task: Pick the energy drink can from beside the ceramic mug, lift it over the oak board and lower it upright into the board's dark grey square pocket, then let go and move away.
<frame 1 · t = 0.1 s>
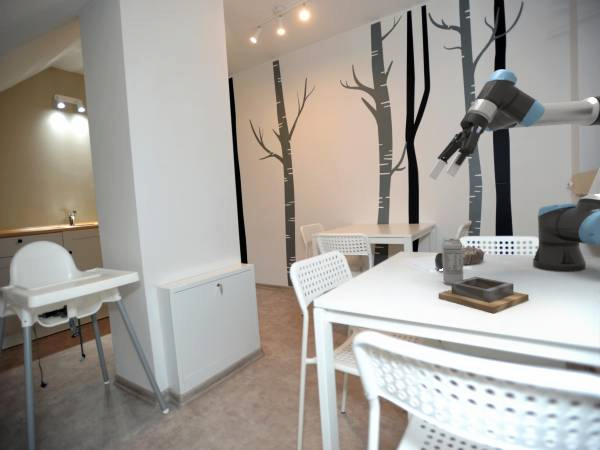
hand: (440, 176, 104), 36 cm above the table, tool tilted 35°, fingers open, 13 cm apart
seashell: (467, 263, 137), on the table
energy drink can: (453, 284, 108), on the table
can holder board: (482, 299, 91), on the table
ceramic mug: (447, 271, 126), on the table
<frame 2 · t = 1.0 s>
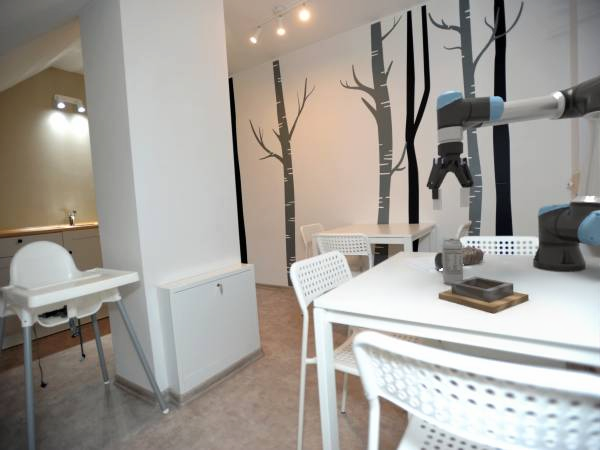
hand: (451, 208, 106), 25 cm above the table, tool pointing down, fingers open, 13 cm apart
nothing on the table moved.
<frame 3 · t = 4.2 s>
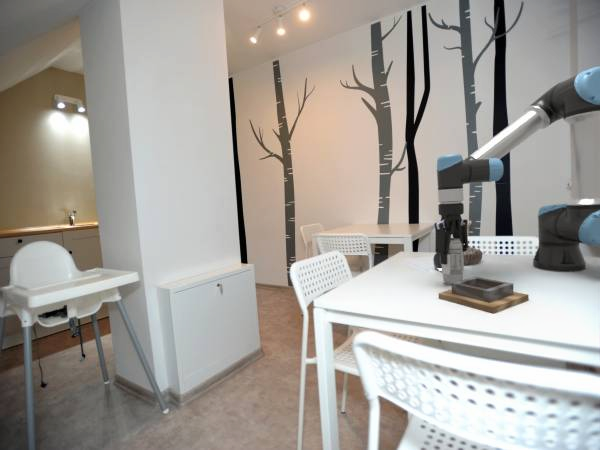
hand: (452, 271, 108), 4 cm above the table, tool pointing down, fingers closed on energy drink can, 6 cm apart
energy drink can: (453, 284, 108), on the table, touching gripper
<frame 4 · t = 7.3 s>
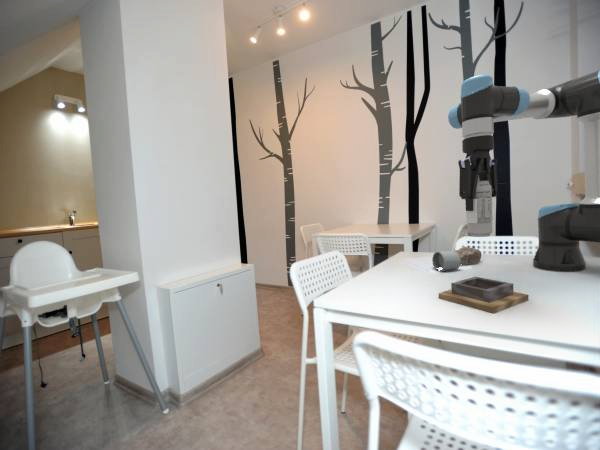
hand: (479, 221, 90), 22 cm above the table, tool pointing down, fingers closed on energy drink can, 6 cm apart
energy drink can: (479, 236, 90), point 18 cm above the table, touching gripper
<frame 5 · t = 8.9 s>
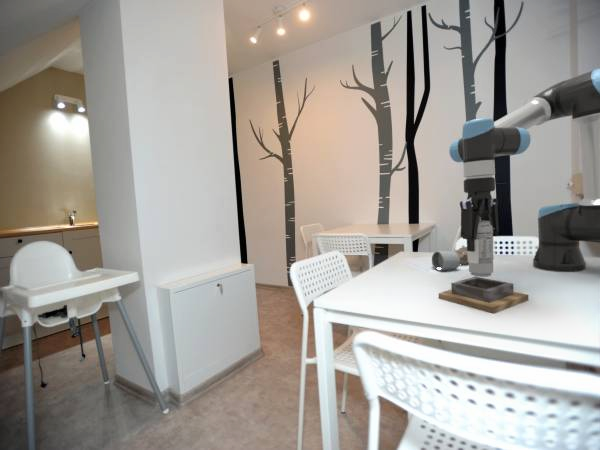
hand: (480, 260, 90), 11 cm above the table, tool pointing down, fingers closed on energy drink can, 6 cm apart
energy drink can: (481, 275, 91), point 7 cm above the table, touching gripper
when the fingers open (7 cm above the table, at t = 10.4 s): energy drink can drops 1 cm, resting on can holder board.
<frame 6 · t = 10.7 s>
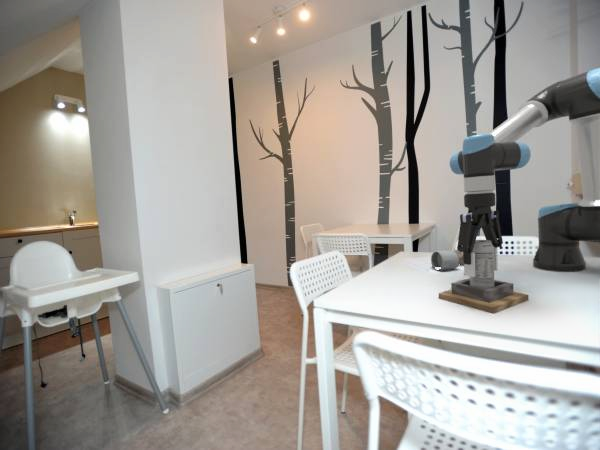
hand: (481, 272, 91), 8 cm above the table, tool pointing down, fingers open, 9 cm apart
energy drink can: (482, 294, 91), point 1 cm above the table, touching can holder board
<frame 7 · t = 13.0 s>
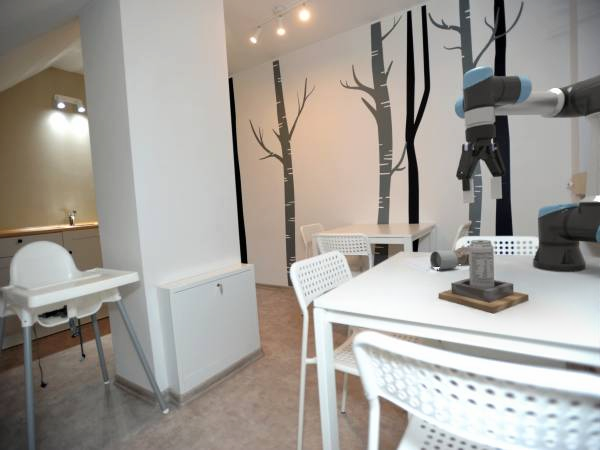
hand: (483, 200, 94), 27 cm above the table, tool pointing down, fingers open, 13 cm apart
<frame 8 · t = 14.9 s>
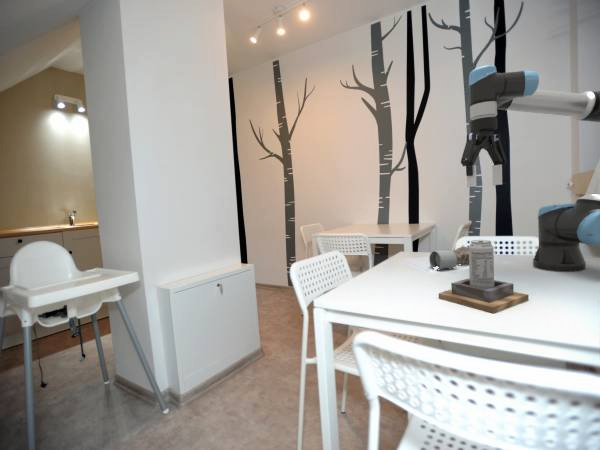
hand: (485, 185, 105), 32 cm above the table, tool pointing down, fingers open, 13 cm apart
at the end: energy drink can 0.1 cm off-centre on the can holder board, point 1.3 cm above the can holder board's base; energy drink can tilted 0°; the gripper is holding nothing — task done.
